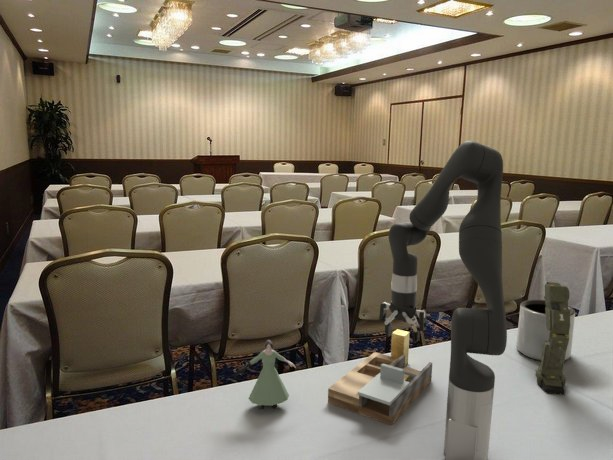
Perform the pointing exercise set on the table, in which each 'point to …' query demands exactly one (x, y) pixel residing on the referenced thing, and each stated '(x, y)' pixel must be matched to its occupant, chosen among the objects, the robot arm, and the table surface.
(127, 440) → the table surface
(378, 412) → the board
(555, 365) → the mechanical leg
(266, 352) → the character figurine
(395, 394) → the lid
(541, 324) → the planter
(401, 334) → the pin
